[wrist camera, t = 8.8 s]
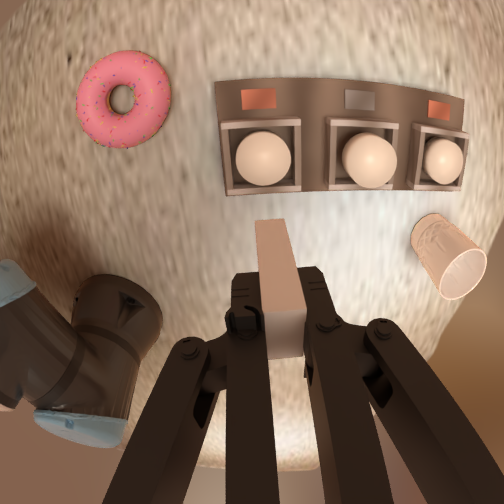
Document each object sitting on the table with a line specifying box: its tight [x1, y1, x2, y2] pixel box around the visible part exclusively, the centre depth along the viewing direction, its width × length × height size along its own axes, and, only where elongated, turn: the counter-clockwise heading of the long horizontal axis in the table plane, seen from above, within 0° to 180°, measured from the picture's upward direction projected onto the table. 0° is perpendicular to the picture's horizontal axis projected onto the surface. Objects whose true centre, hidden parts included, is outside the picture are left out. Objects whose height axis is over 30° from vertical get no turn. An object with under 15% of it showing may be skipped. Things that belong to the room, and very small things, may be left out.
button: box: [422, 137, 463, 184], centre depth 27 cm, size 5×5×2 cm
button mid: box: [342, 133, 397, 188], centre depth 25 cm, size 5×5×2 cm
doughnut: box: [76, 51, 171, 149], centre depth 25 cm, size 11×11×4 cm
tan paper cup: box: [411, 214, 487, 300], centre depth 33 cm, size 8×8×10 cm
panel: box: [215, 78, 470, 196], centre depth 28 cm, size 28×12×5 cm, turn 94°
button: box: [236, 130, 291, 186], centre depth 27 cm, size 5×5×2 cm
